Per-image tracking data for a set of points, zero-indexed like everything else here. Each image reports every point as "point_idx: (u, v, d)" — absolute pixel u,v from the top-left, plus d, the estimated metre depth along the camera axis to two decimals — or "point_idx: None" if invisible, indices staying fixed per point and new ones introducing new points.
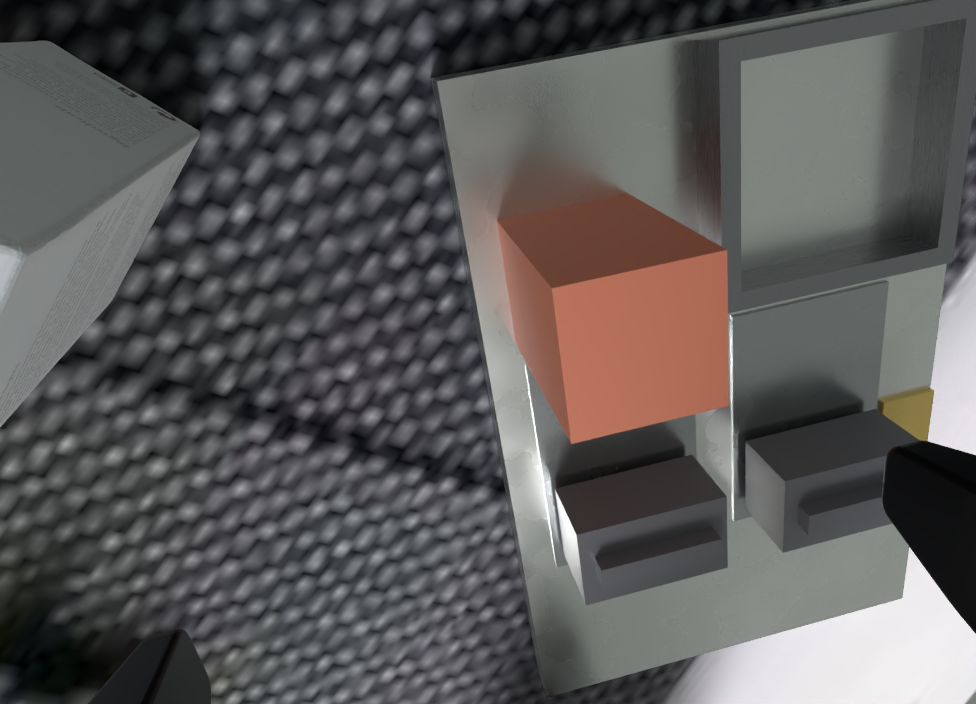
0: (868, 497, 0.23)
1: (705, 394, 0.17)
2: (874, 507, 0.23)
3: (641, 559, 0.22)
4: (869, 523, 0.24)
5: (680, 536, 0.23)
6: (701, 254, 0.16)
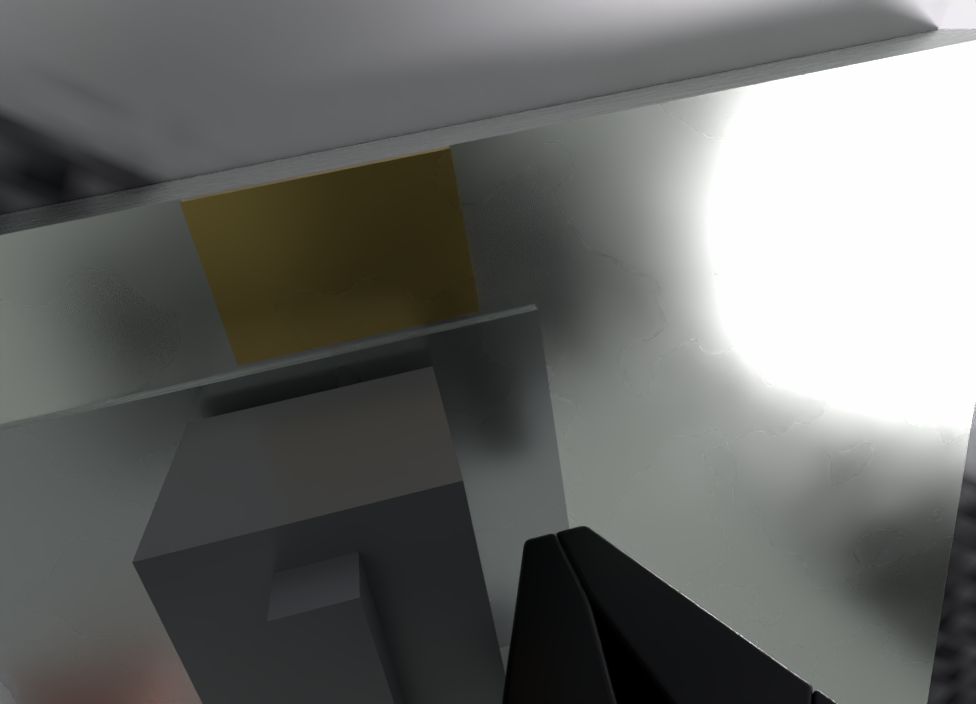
0: None
1: None
2: None
3: None
4: (467, 630, 0.07)
5: None
6: None
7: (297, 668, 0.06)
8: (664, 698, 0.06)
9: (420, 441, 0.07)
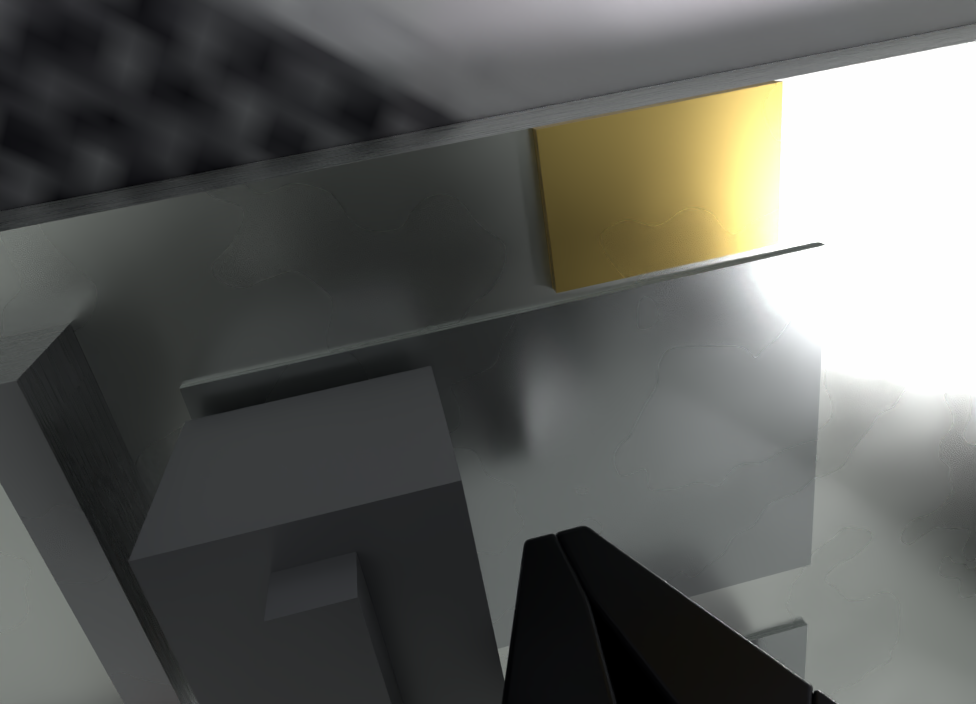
0: None
1: None
2: None
3: None
4: (465, 630, 0.07)
5: None
6: None
7: (294, 668, 0.06)
8: (664, 698, 0.06)
9: (418, 441, 0.07)
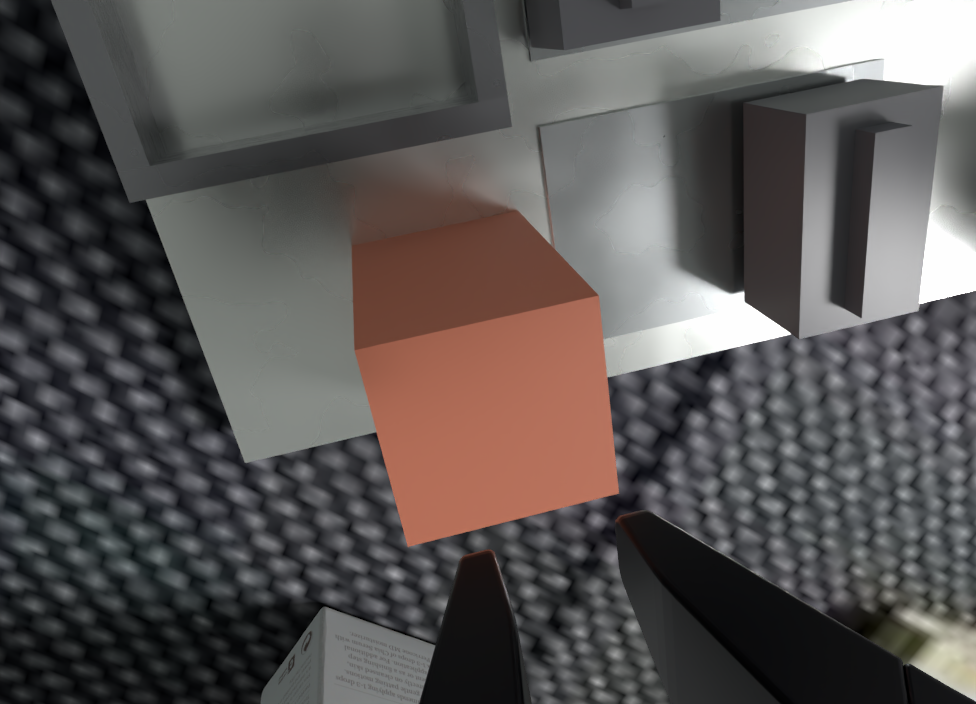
0: None
1: (575, 334, 0.12)
2: None
3: (865, 258, 0.15)
4: None
5: (853, 183, 0.15)
6: (363, 380, 0.11)
7: None
8: (753, 673, 0.06)
9: None
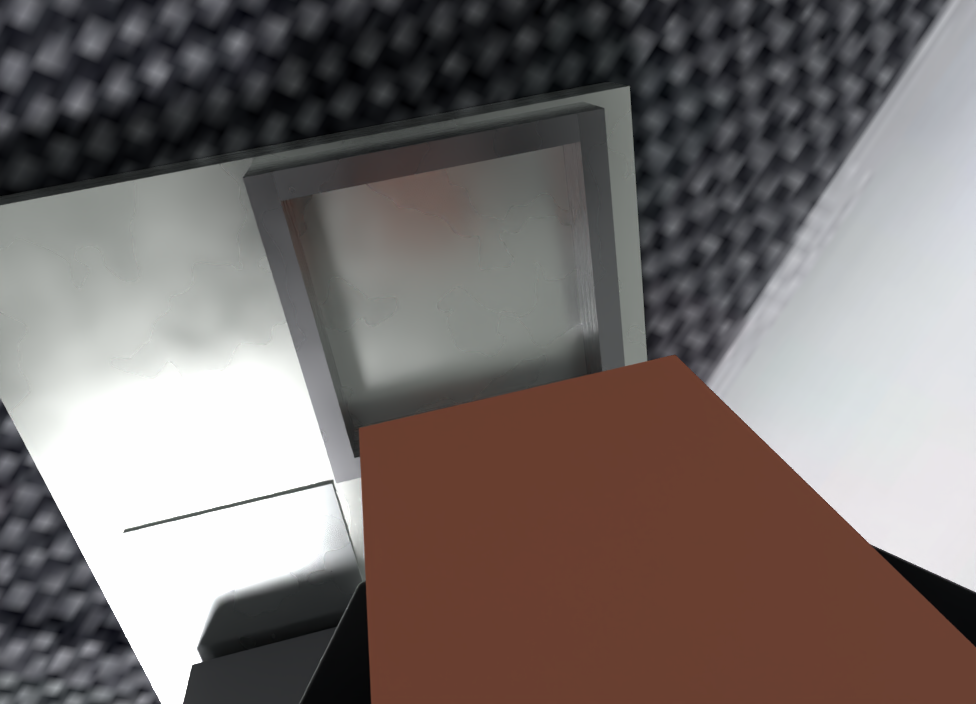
0: None
1: None
2: None
3: None
4: None
5: None
6: None
7: None
8: None
9: None
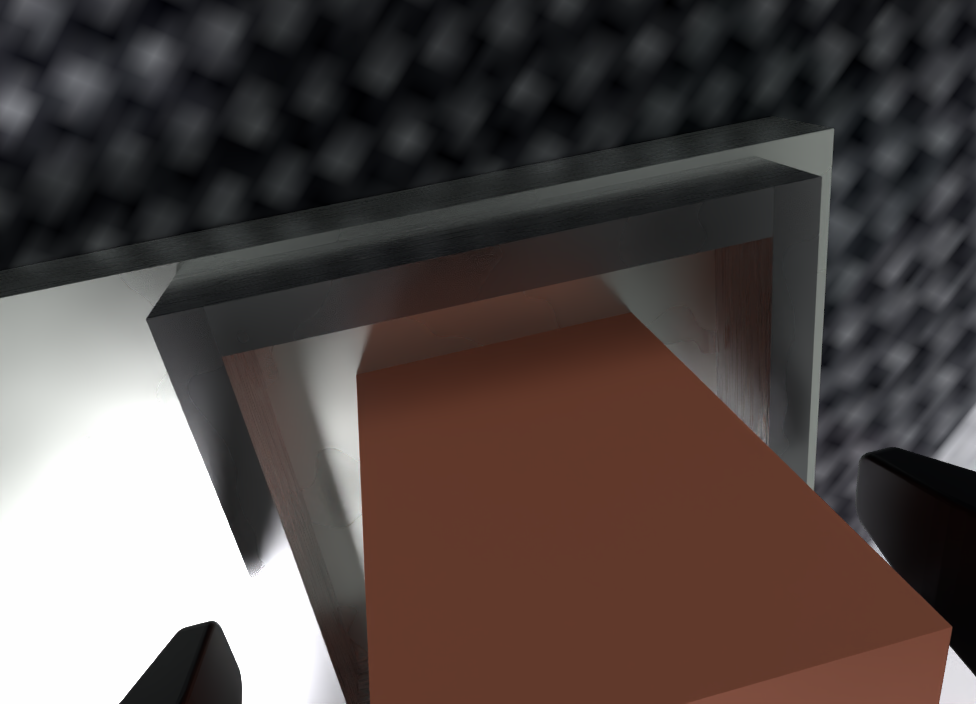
0: None
1: (883, 703, 0.05)
2: None
3: None
4: None
5: None
6: None
7: None
8: None
9: None
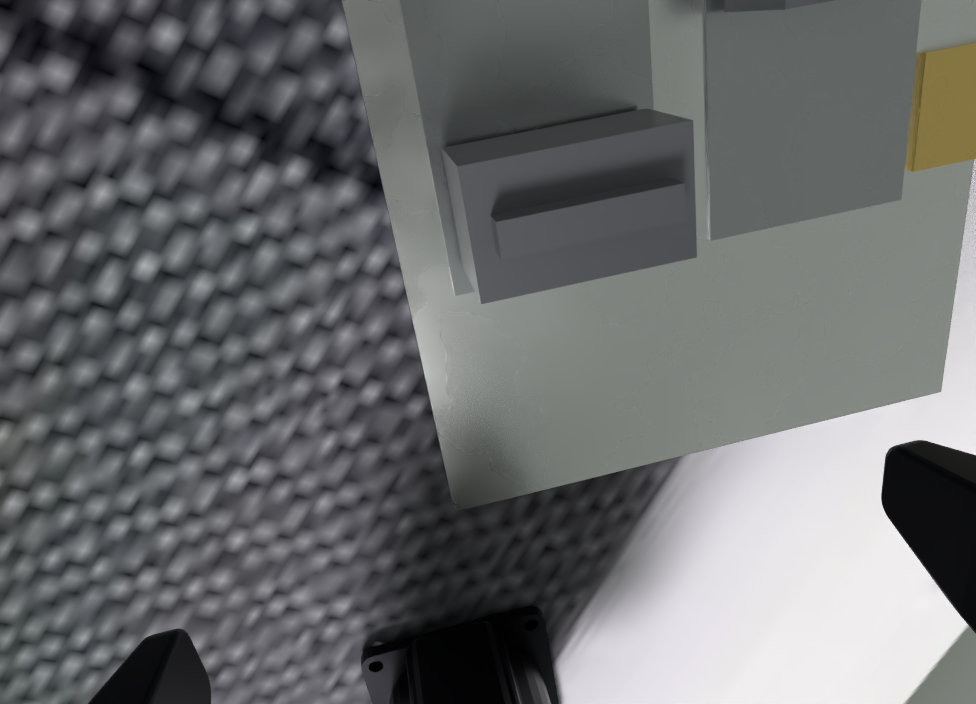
0: None
1: None
2: None
3: (560, 210, 0.14)
4: None
5: (623, 189, 0.15)
6: None
7: None
8: None
9: None
